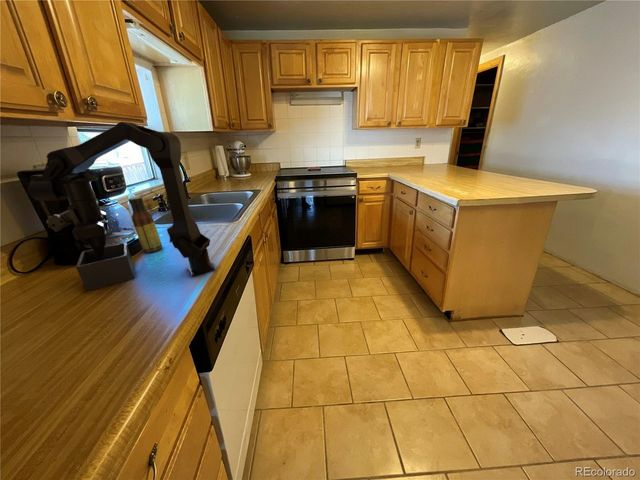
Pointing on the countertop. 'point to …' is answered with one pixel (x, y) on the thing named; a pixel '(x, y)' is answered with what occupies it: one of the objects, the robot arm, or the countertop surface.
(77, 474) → the countertop surface
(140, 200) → the sauce bottle
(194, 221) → the robot arm
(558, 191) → the countertop surface
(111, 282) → the trash bin
